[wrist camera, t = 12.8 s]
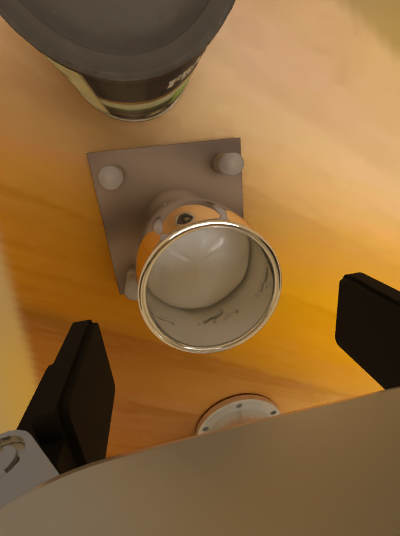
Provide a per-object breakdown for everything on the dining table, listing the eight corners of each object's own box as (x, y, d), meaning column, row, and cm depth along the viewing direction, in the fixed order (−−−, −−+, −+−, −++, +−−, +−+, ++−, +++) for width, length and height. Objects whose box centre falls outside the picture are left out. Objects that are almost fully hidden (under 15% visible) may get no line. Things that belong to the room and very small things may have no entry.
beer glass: (227, 227, 27) (311, 298, 13) (171, 270, 28) (197, 381, 14) (183, 166, 24) (233, 178, 11) (122, 216, 25) (95, 287, 11)
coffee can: (213, 14, 22) (308, -187, 9) (164, 143, 25) (186, 128, 12) (79, -77, 19) (-60, -571, 6) (41, 83, 22) (-110, -25, 9)
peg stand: (241, 268, 31) (259, 289, 26) (121, 287, 29) (116, 315, 24) (235, 138, 26) (257, 133, 21) (89, 153, 24) (75, 152, 19)
